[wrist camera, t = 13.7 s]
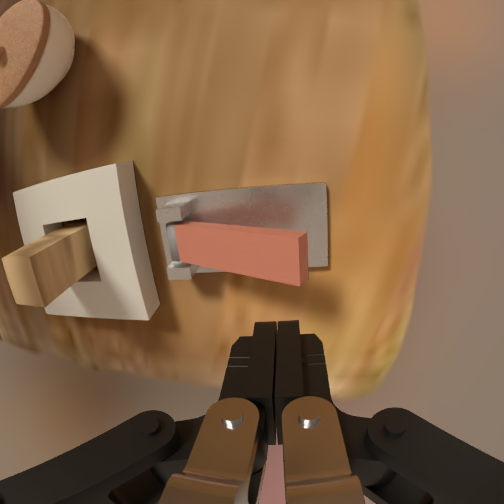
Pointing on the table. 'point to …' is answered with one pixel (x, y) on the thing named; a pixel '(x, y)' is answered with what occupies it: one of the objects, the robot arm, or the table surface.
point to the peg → (50, 264)
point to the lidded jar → (33, 52)
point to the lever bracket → (250, 216)
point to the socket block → (96, 240)
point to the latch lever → (241, 250)
